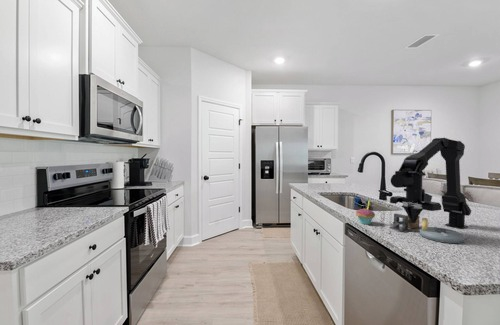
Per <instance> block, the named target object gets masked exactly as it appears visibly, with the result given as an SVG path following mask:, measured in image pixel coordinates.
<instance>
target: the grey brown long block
mask: <svg viewBox="0 0 500 325" xmlns="http://www.w3.org/2000/svg"><path fill="white" fill-rule="evenodd" d="M405 215H406V216H408V215H407V214H405ZM396 225H399V226H401V225H402V220H399V222H394V221H392V222H390V227H391V226H393V227H394V226H396ZM417 228H420V215H419V216H418V218H417V220H416V222H415V223H412V222H411V220H410V218H409V216H408V229H417Z"/></svg>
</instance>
